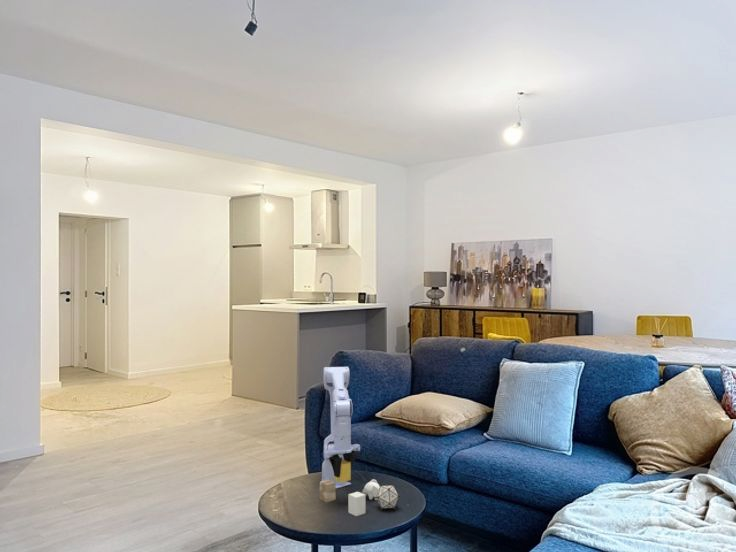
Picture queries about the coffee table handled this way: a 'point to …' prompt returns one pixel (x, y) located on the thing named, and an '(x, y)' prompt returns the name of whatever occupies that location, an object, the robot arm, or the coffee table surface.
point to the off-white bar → (356, 503)
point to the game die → (387, 496)
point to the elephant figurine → (371, 489)
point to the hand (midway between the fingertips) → (342, 475)
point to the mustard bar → (344, 472)
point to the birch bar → (327, 490)
